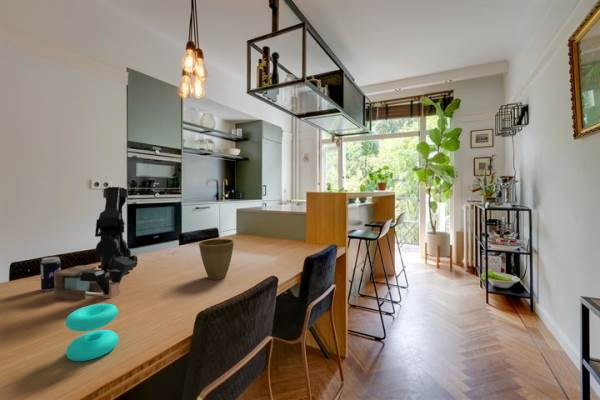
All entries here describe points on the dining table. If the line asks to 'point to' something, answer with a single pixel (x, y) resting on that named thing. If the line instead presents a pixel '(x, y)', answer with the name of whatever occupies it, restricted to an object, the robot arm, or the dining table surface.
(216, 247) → the plant pot
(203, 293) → the dining table surface
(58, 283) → the shelf lane
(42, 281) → the beverage can
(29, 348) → the dining table surface
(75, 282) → the tethered block
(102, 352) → the donuts
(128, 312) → the dining table surface
